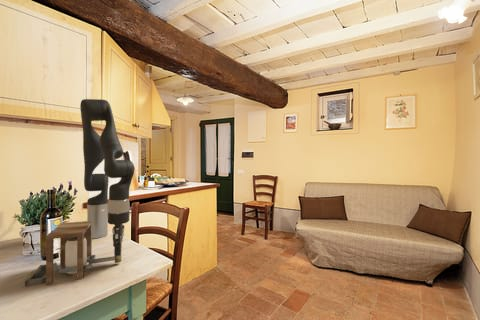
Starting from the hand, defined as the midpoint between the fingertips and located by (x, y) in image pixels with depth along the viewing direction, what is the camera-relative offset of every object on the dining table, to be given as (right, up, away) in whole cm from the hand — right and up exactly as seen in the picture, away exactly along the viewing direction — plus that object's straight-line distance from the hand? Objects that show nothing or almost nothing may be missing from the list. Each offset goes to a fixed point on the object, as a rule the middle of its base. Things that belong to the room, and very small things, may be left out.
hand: (118, 253), depth 90 cm
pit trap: (-22, -4, -9) cm, 24 cm away
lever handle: (-8, -3, -3) cm, 9 cm away
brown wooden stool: (-14, -4, -6) cm, 16 cm away
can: (-13, -4, -5) cm, 15 cm away
